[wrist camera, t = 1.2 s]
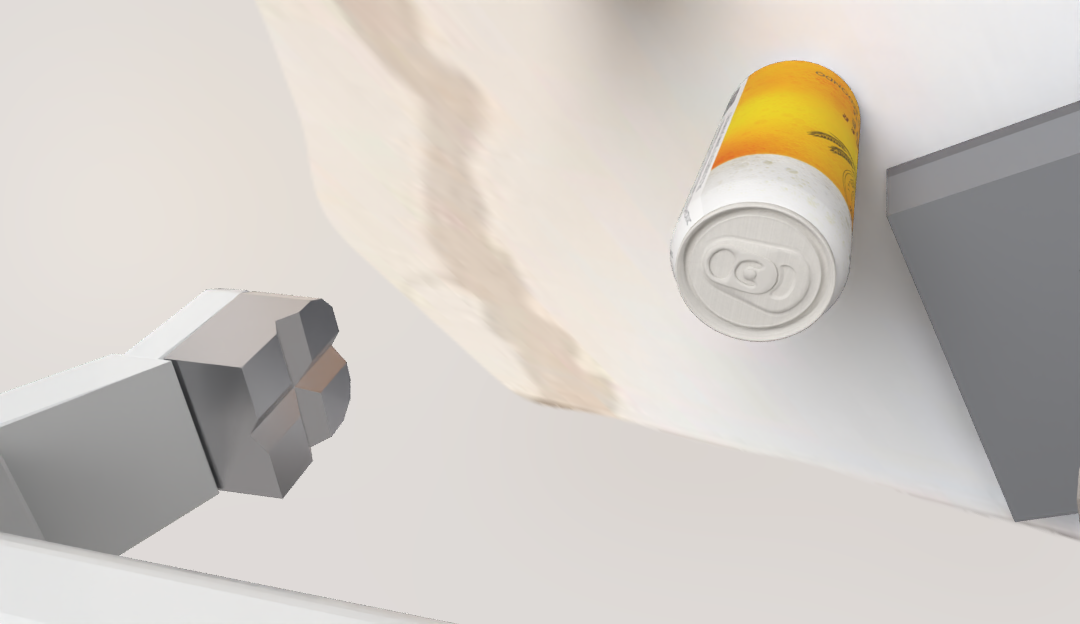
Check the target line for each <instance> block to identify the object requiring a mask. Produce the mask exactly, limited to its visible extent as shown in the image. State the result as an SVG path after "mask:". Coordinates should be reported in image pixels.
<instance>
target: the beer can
mask: <svg viewBox="0 0 1080 624" xmlns="http://www.w3.org/2000/svg"><path fill="white" fill-rule="evenodd" d="M859 135H860V112H859V107H858V104H857V101H856V98H855V96H854V94H853V92H852V91H851V89H850V88H849V86H848V85H847V84H846V83H845V81H844V80H843V79H841V78H840V77H839V76H838V75H837V74H835V73H834V72H833V71H831V70H829V69H827V68H826V67H823V66H821V65H819V64H815V63H812V62H807V61H797V60H792V61H782V62H777V63H774V64H770V65H768V66H765V67H763V68H761V69H759V70H757V71H756V72H754V73H753V74H751V75H750V76H749V77H747V78H746V79H745V80H744V81H743V82H742V83H741V84H740V85H739V86H738V88H737V89H736V91H735V92H734V94H733V95H732V97H731V99H730V101H729V103H728V106H727V108H726V110H725V113H724V115H723V117H722V120H721V122H720V124H719V127H718V129H717V131H716V134H715V136H714V138H713V141H712V143H711V145H710V147H709V150H708V152H707V154H706V157H705V159H704V161H703V164H702V166H701V168H700V171H699V173H698V175H697V178H696V180H695V182H694V185H693V187H692V189H691V192H690V194H689V196H688V198H687V201H686V203H685V205H684V208H683V210H682V212H681V215H680V217H679V219H678V222H677V224H676V226H675V229H674V232H673V235H672V239H671V245H670V261H671V267H672V271H673V274H674V277H675V280H676V282H677V286H678V289H679V292H680V294H681V296H682V298H683V300H684V302H685V304H686V305H687V306H688V308H689V309H690V310H691V312H692V313H693V314H694V315H695V316H696V317H697V318H698V319H699V320H701V321H702V322H703V323H704V324H706V325H707V326H709V327H710V328H712V329H714V330H715V331H717V332H719V333H721V334H724V335H726V336H729V337H732V338H736V339H740V340H745V341H755V342H765V341H775V340H780V339H784V338H787V337H790V336H793V335H795V334H797V333H799V332H801V331H803V330H805V329H806V328H808V327H809V326H811V325H812V324H813V323H814V322H816V321H817V320H818V318H819V317H820V316H821V315H823V314H824V313H825V312H826V311H827V310H828V309H829V308H830V307H831V306H832V305H833V304H834V303H835V302H836V300H837V299H838V298H839V296H840V294H841V293H842V291H843V289H844V287H845V284H846V282H847V279H848V275H849V270H850V259H851V245H852V232H853V218H854V204H855V190H856V177H857V163H858V149H859Z"/></svg>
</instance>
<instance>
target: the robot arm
mask: <svg viewBox="0 0 1080 624" xmlns="http://www.w3.org/2000/svg"><path fill="white" fill-rule="evenodd" d="M338 332H339V330H338V326H337V322H336V319H335V315H334V312H333V308H332V307H331V306H330V305H329V304H328V303H326V302H325V301H324V300H323V299H319V298H311V297H302V296H293V295H283V294H274V293H265V292H256V291H252V292H250V291H247V290H235V289H222V288H218V289H206V290H205V291H203V292H202V293H201V294H200V295H198V296H197V297H196V298H195V299H193V300H192V301H191V302H190V303H188V304H187V305H186V306H184V307H183V308H182V309H181V310H179V311H178V312H177V313H176V314H174V315H173V316H172V317H171V318H169V319H168V320H167V321H166V322H164V323H163V324H162V325H160V326H159V327H158V328H157V329H155V330H154V331H153V332H152V333H150V334H149V335H148V336H147V337H145V338H144V339H143V340H141V341H140V342H139V343H138V344H136V345H135V346H134V347H133V348H131V349H130V350H129V351H127V352H126V353H125V354H124V355H119V354H111V355H108V356H105V357H102V358H99V359H96V360H94V361H91V362H88V363H85V364H82V365H80V366H77V367H74V368H71V369H68V370H65V371H63V372H60V373H57V374H54V375H52V376H48V377H46V378H43V379H40V380H37V381H34V382H31V383H29V384H26V385H23V386H20V387H17V388H14V389H12V390H9V391H6V392H3V393H0V624H455V623H451V622H445V621H440V620H435V619H431V618H425V617H420V616H416V615H410V614H406V613H400V612H395V611H390V610H386V609H380V608H376V607H371V606H366V605H361V604H356V603H351V602H346V601H341V600H336V599H331V598H326V597H321V596H316V595H311V594H306V593H301V592H296V591H290V590H286V589H281V588H276V587H271V586H266V585H261V584H256V583H251V582H246V581H241V580H236V579H231V578H226V577H221V576H217V575H212V574H207V573H202V572H197V571H192V570H187V569H181V568H177V567H172V566H166V565H162V564H157V563H152V562H147V561H142V560H137V559H132V558H127V557H122V556H119V555H121V554H122V553H124V552H126V551H127V550H129V549H130V548H132V547H134V546H135V545H137V544H139V543H140V542H142V541H143V540H145V539H147V538H148V537H150V536H151V535H153V534H155V533H156V532H158V531H159V530H161V529H163V528H164V527H166V526H168V525H169V524H171V523H172V522H174V521H175V520H177V519H179V518H180V517H182V516H184V515H185V514H187V513H188V512H190V511H192V510H193V509H195V508H197V507H198V506H200V505H201V504H203V503H205V502H206V501H208V500H209V499H211V498H213V497H214V496H216V495H218V494H219V491H218V490H222V491H230V492H237V493H244V494H252V495H260V496H267V497H274V498H284V496H285V495H286V494H287V493H288V491H289V490H290V489H291V488H292V486H293V485H294V484H295V482H296V481H297V480H298V479H299V477H300V476H301V475H302V474H303V472H304V471H305V470H306V469H307V467H308V466H309V465H310V464H311V462H312V453H311V447H312V446H314V445H316V444H318V443H320V442H322V441H324V440H326V439H328V438H330V437H332V435H333V434H334V433H335V431H336V430H337V429H338V427H339V426H340V424H341V423H342V422H343V420H344V417H345V414H346V411H347V408H348V404H349V401H350V376H349V371H348V367H347V362H346V361H345V360H344V359H343V358H342V357H341V356H340V355H339V353H338V352H337V351H336V350H335V349H334V348H333V347H332V343H333V342H334V339H335V338H336V336H337V334H338ZM1077 505H1078V514H1079V521H1080V469H1079V476H1078V490H1077Z"/></svg>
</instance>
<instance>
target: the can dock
mask: <svg viewBox="0 0 1080 624" xmlns="http://www.w3.org/2000/svg"><path fill="white" fill-rule="evenodd" d="M887 218H888V221H889V223H890V225H891V228H892V230H893V233H894V235H895V237H896V240H897V242H898V244H899V247H900V249H901V252H902V254H903V256H904V259H905V261H906V264H907V266H908V268H909V271H910V273H911V275H912V278H913V280H914V283H915V285H916V287H917V290H918V292H919V295H920V297H921V299H922V302H923V304H924V306H925V309H926V311H927V314H928V316H929V318H930V321H931V323H932V325H933V328H934V330H935V333H936V335H937V337H938V340H939V342H940V345H941V347H942V349H943V352H944V354H945V356H946V359H947V361H948V364H949V366H950V368H951V371H952V373H953V376H954V378H955V380H956V383H957V385H958V387H959V390H960V392H961V395H962V397H963V399H964V402H965V404H966V406H967V409H968V411H969V414H970V416H971V418H972V421H973V423H974V426H975V428H976V430H977V433H978V435H979V437H980V440H981V442H982V445H983V447H984V449H985V452H986V454H987V457H988V459H989V461H990V464H991V466H992V468H993V471H994V473H995V476H996V478H997V480H998V483H999V485H1000V487H1001V490H1002V492H1003V495H1004V497H1005V499H1006V502H1007V504H1008V507H1009V509H1010V511H1011V514H1012V516H1013V518H1014V521H1015V522H1019V521H1026V520H1033V519H1040V518H1047V517H1054V516H1061V515H1069V514H1076V513H1078V505H1077V490H1078V476H1079V469H1080V101H1077V102H1075V103H1072V104H1069V105H1066V106H1063V107H1061V108H1058V109H1055V110H1052V111H1049V112H1047V113H1044V114H1041V115H1038V116H1035V117H1033V118H1030V119H1027V120H1024V121H1021V122H1018V123H1016V124H1013V125H1010V126H1007V127H1004V128H1002V129H999V130H996V131H993V132H990V133H988V134H985V135H982V136H979V137H976V138H973V139H971V140H968V141H965V142H962V143H959V144H957V145H954V146H951V147H948V148H945V149H943V150H940V151H937V152H934V153H931V154H928V155H926V156H923V157H920V158H917V159H914V160H912V161H909V162H906V163H903V164H900V165H898V166H895V167H892V168H889V169H887Z"/></svg>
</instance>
